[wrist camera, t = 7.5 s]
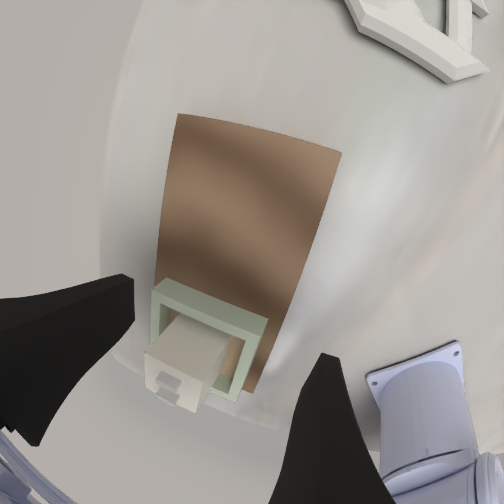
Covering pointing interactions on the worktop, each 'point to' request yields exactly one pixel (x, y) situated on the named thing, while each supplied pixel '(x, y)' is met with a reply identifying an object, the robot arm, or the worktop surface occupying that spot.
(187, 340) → the plug
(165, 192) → the board
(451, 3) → the gun
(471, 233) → the worktop surface
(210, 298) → the holder
